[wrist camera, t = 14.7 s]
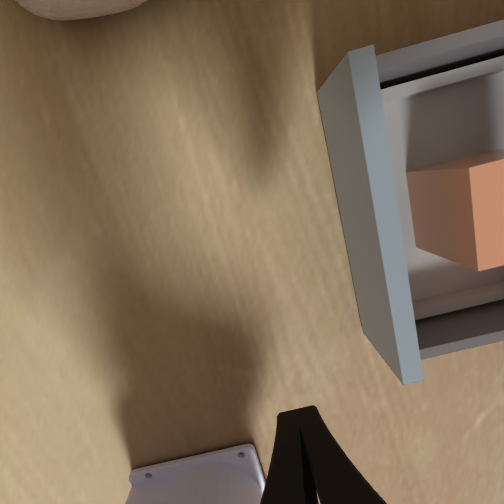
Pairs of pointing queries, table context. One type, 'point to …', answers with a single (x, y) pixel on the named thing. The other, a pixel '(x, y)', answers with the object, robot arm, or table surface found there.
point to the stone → (77, 8)
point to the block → (461, 209)
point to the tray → (405, 190)
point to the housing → (420, 64)
